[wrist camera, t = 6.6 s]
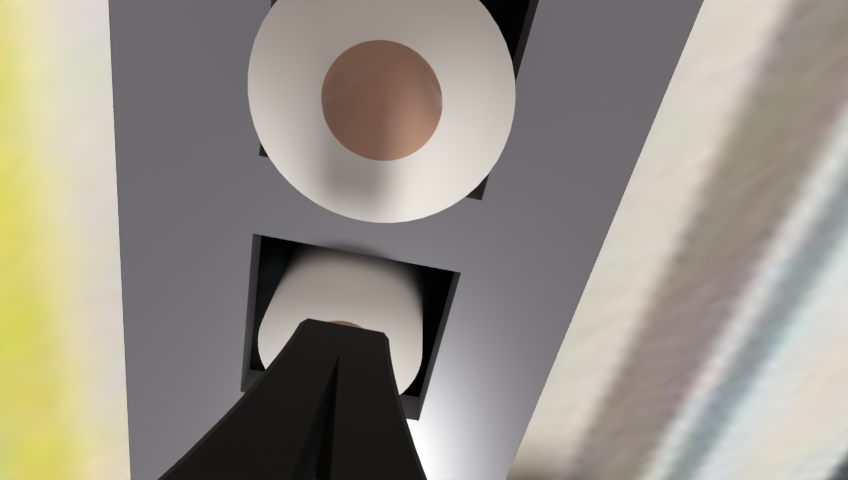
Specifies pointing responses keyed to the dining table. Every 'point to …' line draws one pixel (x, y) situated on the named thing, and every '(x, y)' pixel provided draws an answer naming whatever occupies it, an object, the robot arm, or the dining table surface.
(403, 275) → the button middle
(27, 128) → the dining table surface
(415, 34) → the button
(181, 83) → the mount
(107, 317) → the dining table surface
